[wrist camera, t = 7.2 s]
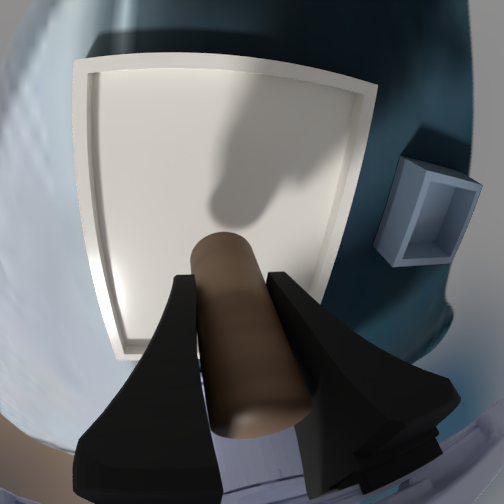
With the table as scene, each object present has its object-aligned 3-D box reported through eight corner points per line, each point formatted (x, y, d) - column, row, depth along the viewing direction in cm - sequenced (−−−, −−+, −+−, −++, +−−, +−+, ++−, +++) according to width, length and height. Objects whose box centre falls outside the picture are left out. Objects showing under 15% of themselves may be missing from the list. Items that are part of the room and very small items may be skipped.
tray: (298, 335, 20) (304, 348, 19) (118, 345, 17) (116, 359, 16) (363, 82, 11) (378, 85, 10) (83, 61, 8) (73, 60, 7)
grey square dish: (432, 245, 18) (451, 263, 16) (372, 245, 17) (392, 267, 15) (458, 171, 15) (482, 185, 13) (400, 155, 14) (426, 170, 12)
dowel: (249, 283, 13) (298, 430, 8) (189, 285, 13) (209, 443, 7) (257, 231, 12) (325, 386, 6) (190, 231, 11) (210, 402, 6)
